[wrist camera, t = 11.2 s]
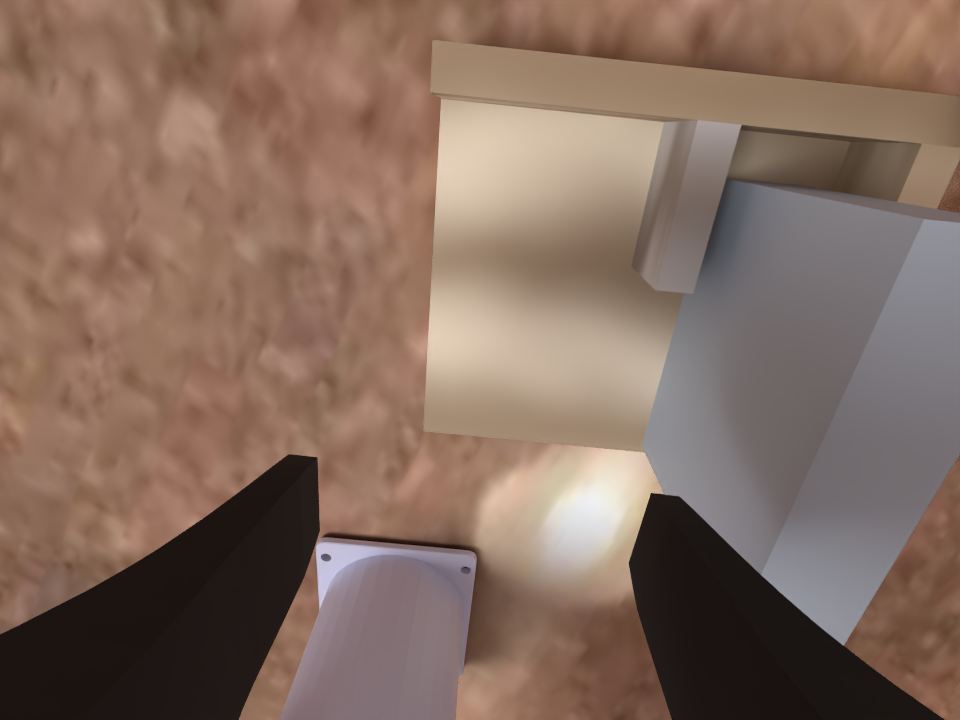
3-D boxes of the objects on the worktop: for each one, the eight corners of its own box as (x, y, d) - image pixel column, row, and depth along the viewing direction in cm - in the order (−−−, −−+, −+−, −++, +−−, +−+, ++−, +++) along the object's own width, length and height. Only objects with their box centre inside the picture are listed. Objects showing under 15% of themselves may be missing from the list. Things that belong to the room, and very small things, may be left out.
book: (710, 452, 22) (841, 648, 13) (641, 445, 21) (731, 638, 13) (803, 185, 17) (1091, 236, 9) (716, 176, 17) (924, 218, 9)
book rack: (780, 457, 22) (829, 513, 19) (425, 423, 22) (412, 474, 19) (928, 109, 16) (1036, 103, 13) (445, 58, 16) (432, 39, 13)
